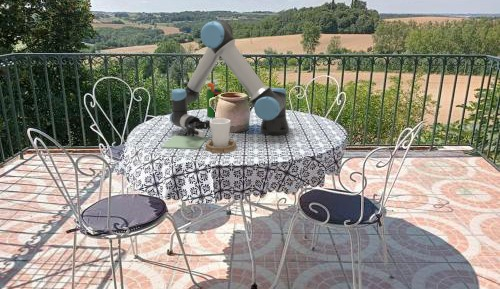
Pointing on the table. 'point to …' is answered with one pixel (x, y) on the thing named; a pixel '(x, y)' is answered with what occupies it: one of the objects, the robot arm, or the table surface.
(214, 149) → the collar
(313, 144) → the table surface
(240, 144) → the table surface
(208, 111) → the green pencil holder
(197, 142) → the mat
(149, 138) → the table surface
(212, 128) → the foam cup
